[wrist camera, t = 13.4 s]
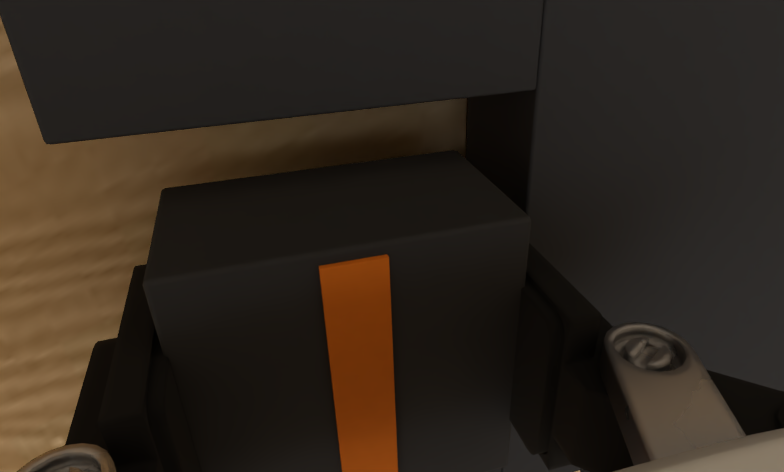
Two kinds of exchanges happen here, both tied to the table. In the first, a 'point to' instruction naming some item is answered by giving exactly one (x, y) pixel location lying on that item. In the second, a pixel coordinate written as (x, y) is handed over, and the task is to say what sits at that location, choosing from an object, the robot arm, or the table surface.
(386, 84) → the black notched block
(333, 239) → the tile
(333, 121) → the table surface
